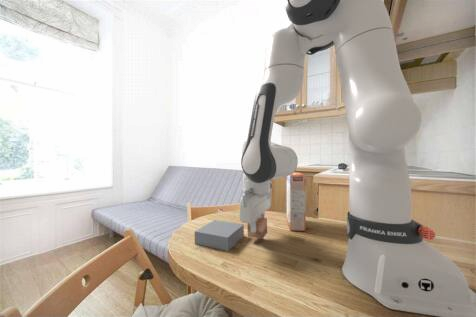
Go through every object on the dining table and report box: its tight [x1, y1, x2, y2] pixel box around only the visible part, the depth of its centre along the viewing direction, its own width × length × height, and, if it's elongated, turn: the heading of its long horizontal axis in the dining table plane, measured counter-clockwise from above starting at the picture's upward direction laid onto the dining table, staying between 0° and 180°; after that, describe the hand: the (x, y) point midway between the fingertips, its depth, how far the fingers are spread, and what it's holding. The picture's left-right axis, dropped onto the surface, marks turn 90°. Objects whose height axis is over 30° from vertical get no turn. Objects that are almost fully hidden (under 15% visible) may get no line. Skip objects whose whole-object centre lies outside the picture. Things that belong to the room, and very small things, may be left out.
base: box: [194, 219, 245, 252], centre depth 65 cm, size 12×12×4 cm
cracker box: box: [285, 171, 307, 232], centre depth 78 cm, size 14×6×21 cm, turn 171°
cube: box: [246, 217, 268, 240], centre depth 64 cm, size 5×5×5 cm
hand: (257, 228), depth 64 cm, fingers closed on cube, 5 cm apart
